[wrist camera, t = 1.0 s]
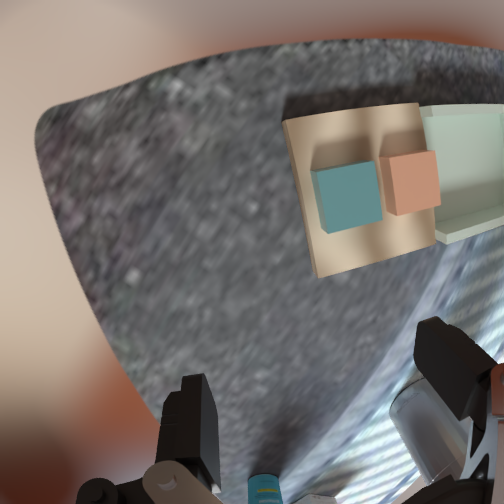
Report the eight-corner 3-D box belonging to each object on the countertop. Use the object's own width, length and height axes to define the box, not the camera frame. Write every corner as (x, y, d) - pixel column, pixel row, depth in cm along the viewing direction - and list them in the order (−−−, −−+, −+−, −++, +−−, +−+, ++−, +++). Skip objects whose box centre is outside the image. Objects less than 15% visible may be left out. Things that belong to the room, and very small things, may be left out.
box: (499, 105, 26) (521, 104, 22) (509, 207, 30) (530, 214, 26) (408, 109, 26) (430, 105, 22) (425, 233, 30) (446, 244, 26)
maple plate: (407, 104, 26) (418, 102, 24) (425, 238, 30) (435, 243, 28) (281, 122, 26) (285, 120, 24) (312, 270, 30) (318, 278, 28)
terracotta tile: (422, 149, 25) (435, 150, 23) (429, 201, 27) (441, 205, 25) (378, 156, 25) (389, 157, 23) (386, 211, 27) (397, 216, 25)
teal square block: (364, 159, 25) (374, 160, 23) (372, 215, 27) (382, 220, 25) (309, 170, 25) (316, 172, 23) (321, 228, 27) (327, 234, 25)
